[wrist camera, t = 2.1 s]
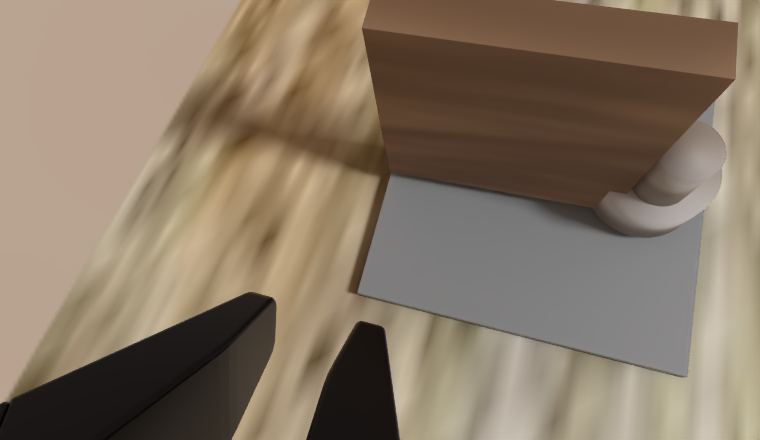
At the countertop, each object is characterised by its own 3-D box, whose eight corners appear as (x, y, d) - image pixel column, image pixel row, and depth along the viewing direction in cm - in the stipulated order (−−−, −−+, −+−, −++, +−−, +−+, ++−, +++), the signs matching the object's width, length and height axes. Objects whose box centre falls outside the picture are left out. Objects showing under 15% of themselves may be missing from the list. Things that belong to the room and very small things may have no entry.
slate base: (682, 377, 19) (689, 376, 18) (358, 294, 21) (356, 291, 20) (716, 47, 23) (723, 38, 22) (440, 4, 25) (440, -5, 24)
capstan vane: (691, 247, 20) (890, 131, 11) (385, 190, 21) (354, 53, 13) (698, 149, 21) (882, -24, 12) (407, 103, 23) (391, -75, 14)
